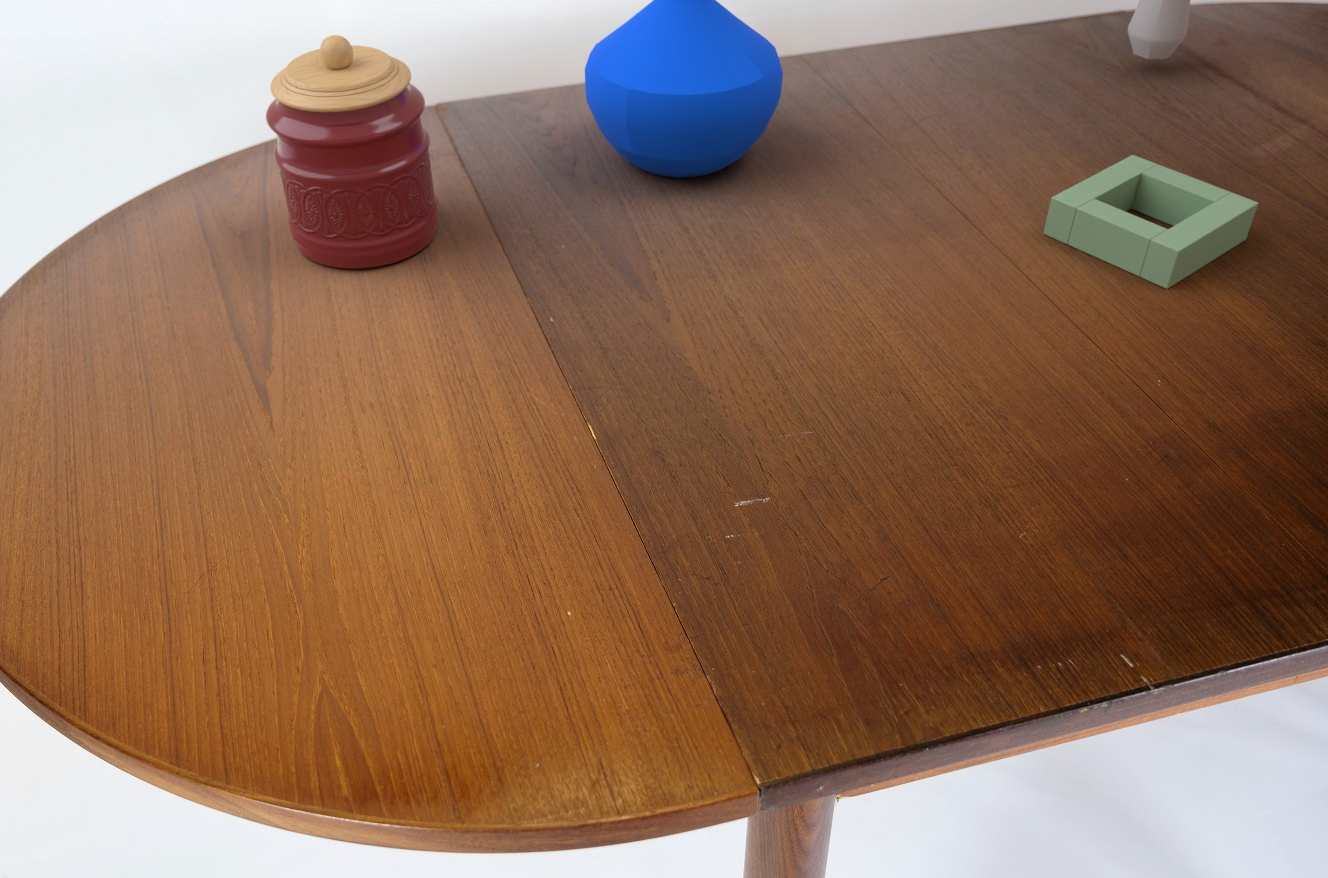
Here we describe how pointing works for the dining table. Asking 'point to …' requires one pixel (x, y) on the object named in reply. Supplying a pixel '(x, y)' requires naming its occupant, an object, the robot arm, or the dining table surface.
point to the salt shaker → (1158, 27)
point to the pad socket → (1140, 246)
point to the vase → (683, 87)
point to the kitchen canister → (353, 156)
